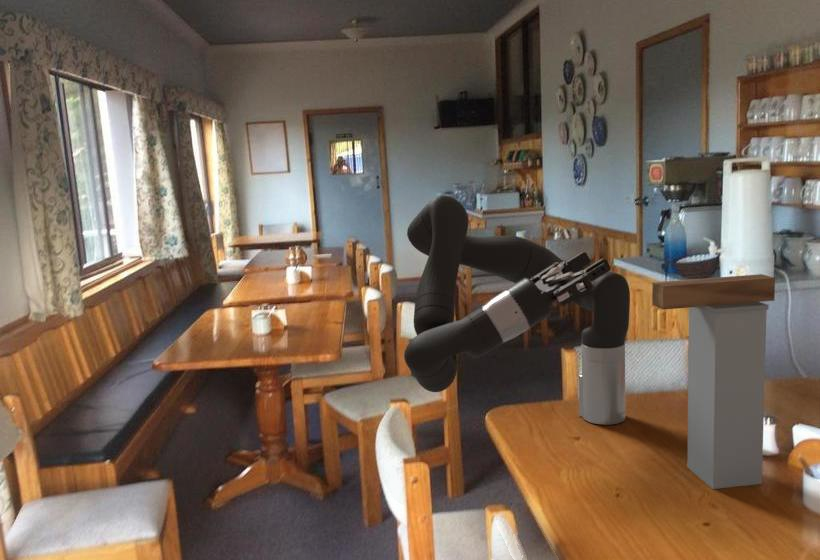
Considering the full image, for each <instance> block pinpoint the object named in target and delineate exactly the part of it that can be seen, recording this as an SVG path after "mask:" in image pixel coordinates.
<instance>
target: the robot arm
mask: <svg viewBox="0 0 820 560" xmlns="http://www.w3.org/2000/svg"><path fill="white" fill-rule="evenodd" d="M469 222H470V221H469V215H468V212H467V211H466V208H465V207H464V206H463V204H462V203H461V202H460V201H459V200H457V199H456V198H454V197H452V196H451V195H450V196H449V195H443V194H442V195H437V196H436V197H434V198H433V199H431V200H430V201H428V203H426V204H425V206H424V207H423V208H422V209H421V210H420V211H419V212H418V214H417V215H416V216H415V217H414V218H413V219H412V221H410V223H409V225H408V226H407V229H406V230H407V231H406V236H407V238H408V241H409V242H410V244H411V245H412V246H413V248H414V249H416V250H417V251H418V252H420V253H422V254H424V255H426V256H428V257H427V261H426V263H425V265H424V268H423V270H422V274H421V276H420V280H419V282H418V286H417V289H416V293H415V294H416V295H415V300H414V301H415V303H414V311H413V328H414V332H415V335H416V336H415V337H413V338H412V339H411V340H410V341H409V342H408V344H407V345H406V347H405V348H404V349H405V350H404V354H403V355H404V357H403V359H404V362H405V364H406V366H407V368H408V369H409V371H410V372H411V373H412V375H413V376H414V378H415V380H416V381H417V382H418V384H419V385H420V386H421V387H422V388H423V389H424V390H426V391H428V392H431V393H441V392H443V391H445V390H447V389H448V388H449V387H451V385H452V384H453V382H454V381H455V378H456V376H457V372H458V355H459V354H462V353H463V354H464V353H466V354H468V355H469V356H470V357H472V358H474V359H475V358H477V359H478V358H481V357H482V356H485V355H486V354H487V353H489V352H491V351H493V350H495V349H496V348H498V347H499V346H502V345H503V344H504V343H506V342H508V341H511V340H513V339H515V338H517V337H518V336H520V335H521V334H523V333H525V332H527V331H528V330H530V329H532V328H533V327H535V326H536V325H538V324H540V323H541V322H543V321H544V320H546V319H548V318H549V317H550V316H551V309H550V305H551V304H553V303H555V302H558V304H559V305H560V306H561V307H563V306H565V305H567V304H569V303H570V302H572V303H573V304H576V305H577V306H578V307H581V308H582V309H584V310H587V311H590V312H593V317H592V319H593V320H592V325H591V326H589V327H586V328H584V329H583V330H582V331H581V374H579V375H578V416H579V417H582V418H583V420H585V421H586V422H588V423H592V424H597V425H603V426H604V425H608V426H610V425H618V424H620V423H622V422H625V420H626V335H627V333H628V331H629V327H630V309H631V307H630V306H631V305H630V304H631V292H630V290H631V289H630V287H629V283H628V281H627V279H626V278H625V277H624V276H623V275H622V274H620V273H617V272H612V271H611V269H612V266H610V263H609V262H608V259H606V258H600V259H599V260H598V261H595V262H594V263H593V264H591V265H589V266H588V264H590V262H591V258H590V257H589V255H588V253H587V252H585V251H581V252H580V253H578V254H577V255H575V256H573V257H572V258H570V259H568V260H566V261H565V260H563V259H562V258H560V257H559V256H558V255H556V254H555V253H554V252H553V251H551V250H550V249H549V248H546V247H545V246H543V245H542V244H538V243H537V242H533V241H532V240H529V239H526V238H523V237H521V236H517V235H495V236H470V235H467V234H468V229H469ZM460 265H461V266H465V267H470V268H473V269H476V270H479V271H482V272H485V273H486V274H487V273H488V274H490V275H494V276H497V277H499V278H501V279H503V280H506V281H508V282H511V283H514V284H512V286H509V287H507V288H506V289H505V290H503V291H502V292H500V293H498V294H497V295H495V296H494V297H492V298H491V299H489V300H488V301H487V302H485V304H483V305H481V306H480V307H478V308H477V309H475V310H474V311H472V312H471V313H469V314H467V315H466V316H465V317H463V318H461V319H458V320H456V321H455V308H456V305H455V304H456V290H457V282H458V277H459V276H458V274H459V269H460ZM586 266H588V267H586Z"/></svg>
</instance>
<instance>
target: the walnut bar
mask: <svg viewBox="0 0 820 560" xmlns="http://www.w3.org/2000/svg"><path fill="white" fill-rule="evenodd" d="M651 285H652V286H651V287H652V290H651V292H652V294H651V295H652V296H651V297H652V298H651V299H652V300H651V301H652V304H651V305H652V306H654V307H656V308H658V309H660V310H663V311H664V310H674V309H685V308H686V309H689V307H702V306H714V305H727V304H739V303H752V302H761V303H764V302H774V301H775V291H776V289H775V288H776V277H775V276H769V275H766V274H763V273H762V274H761V273H759V274H758V273H757V274H748V275H747V274H746V275H734V276H720V277H718V276H717V277H709V278H707V277H706V278H705V277H704V278H695V279H694V278H693V279H680V280H669V281H668V280H666V281H654V282H652V283H651Z"/></svg>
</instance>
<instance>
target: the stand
mask: <svg viewBox="0 0 820 560" xmlns="http://www.w3.org/2000/svg"><path fill="white" fill-rule="evenodd" d="M767 311H769V304H767V303H764V302H752V303H739V304H727V305H714V306H702V307H689V308H688V355H687V356H688V362H687V365H688V366H687V367H688V370H687V371H688V373H687V380H688V381H687V382H688V383H687V384H688V385H687V386H688V387H687V461H686V462H687V463H686V465H687V469H689V471H691V472H692V473H693V474H694V475H695V476H697V477H698V478H699V479H700V480H702V482H704V483H706V484H707V486H709V487H710V489H713V490H718V489H726V488H728V489H729V488H735V487H746V486H747V487H748V486H754V485H762V484H763V455H764V454H763V453H764V451H763V448H764V419H765V418H764V417H765V416H764V412H765V387H766V386H765V385H766V384H765V383H766V382H765V381H766V378H765V377H766V375H765V374H766V349H767V348H766V346H767V345H766V343H767V341H766V340H767V314H768V313H767Z"/></svg>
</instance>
